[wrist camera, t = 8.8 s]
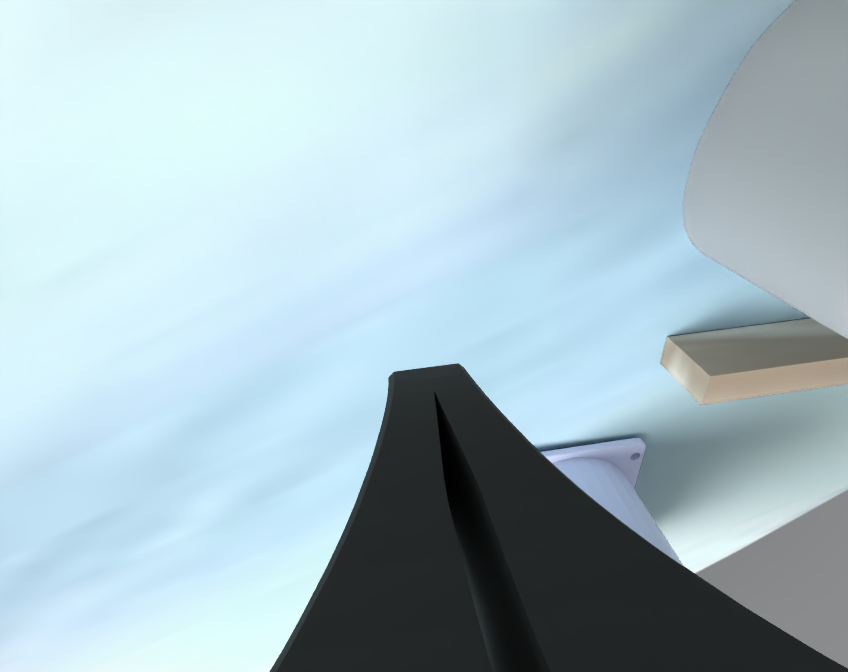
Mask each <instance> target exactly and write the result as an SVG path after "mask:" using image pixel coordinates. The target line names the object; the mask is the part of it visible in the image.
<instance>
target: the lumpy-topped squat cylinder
mask: <svg viewBox="0 0 848 672" xmlns="http://www.w3.org/2000/svg"><path fill="white" fill-rule="evenodd" d="M683 221H684V227H685V230H686V233H687V235H688V238H689V239H690V241H691V243H692V244H693V245H694V247H695V248H696V249H697V250H698V251H699V252H701V253H702V254H704V255H705V256H707V257H709V258H710V259H712V260H714V261H715V262H717V263H719V264H720V265H722V266H724V267H726V268H727V269H729V270H731V271H732V272H734V273H736V274H737V275H739V276H741V277H742V278H744V279H746V280H748V281H749V282H751V283H753V284H754V285H756V286H758V287H759V288H761V289H763V290H764V291H766V292H768V293H770V294H771V295H773V296H775V297H777V298H778V299H780V300H782V301H783V302H785V303H787V304H788V305H790V306H792V307H794V308H795V309H797V310H799V311H800V312H802V313H804V314H805V315H807V316H809V317H810V318H812V319H814V320H816V321H817V322H819V323H821V324H822V325H824V326H826V327H828V328H829V329H831V330H833V331H835V332H836V333H838V334H840V335H842V336H843V337H845V338H847V339H848V0H795V1H794V2H793V3H792V4H791V5H790V6H789V7H788V8H787V9H786V10H785V11H784V12H783V13H782V14H781V15H780V16H779V17H778V18H777V19H776V20H775V21H774V22H773V23H772V24H771V25H770V26H769V27H768V28H767V29H766V30H765V31H764V33H763V34H762V35H761V36H760V37H759V38H758V40H757V41H756V42H755V43H754V45H753V46H752V47H751V49H750V50H749V52H748V53H747V55H746V56H745V58H744V59H743V61H742V63H741V64H740V66H739V67H738V69H737V71H736V72H735V74H734V76H733V77H732V79H731V81H730V83H729V84H728V86H727V88H726V89H725V91H724V93H723V95H722V97H721V98H720V100H719V102H718V104H717V106H716V108H715V109H714V111H713V113H712V115H711V117H710V119H709V121H708V123H707V125H706V127H705V129H704V131H703V133H702V135H701V138H700V140H699V142H698V145H697V147H696V150H695V153H694V156H693V159H692V163H691V166H690V170H689V174H688V178H687V183H686V188H685V194H684V202H683Z"/></svg>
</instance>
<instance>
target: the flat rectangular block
mask: <svg viewBox="0 0 848 672" xmlns="http://www.w3.org/2000/svg"><path fill="white" fill-rule="evenodd" d="M660 364H661V365H662V366H663V367H664V368H665V369H666V370H667V371H668V372H669V373H670V374H671V375H672V376H673V377H674V378H675V379H676V380H677V381H678V382H679V383H680V384H681V385H682V386H683V387H684V388H685V389H686V390H687V391H688V392H689V393H690V394H691V395H692V397H693V398H694V399H695V400H696V401H697V402H698V403H699V404H700V405H704V404H711V403H718V402H725V401H732V400H739V399H746V398H753V397H760V396H767V395H774V394H781V393H787V392H794V391H801V390H808V389H815V388H822V387H829V386H836V385H843V384H848V339H847V338H845V337H843V336H842V335H840V334H838V333H836V332H835V331H833V330H831V329H829V328H828V327H826V326H824V325H822V324H821V323H819V322H817V321H816V320H814V319H812V318H808V319H800V320H792V321H785V322H777V323H769V324H762V325H754V326H746V327H739V328H731V329H723V330H716V331H708V332H700V333H693V334H685V335H677V336H670V337H667V340H666V344H665V348H664V351H663V355H662V359H661V363H660Z"/></svg>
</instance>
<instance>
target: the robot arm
mask: <svg viewBox="0 0 848 672" xmlns="http://www.w3.org/2000/svg"><path fill="white" fill-rule="evenodd" d="M645 448H646V445H645V443H644V442H643V441H642V439H640V438H631V439H624V440H618V441H611V442H604V443H597V444H591V445H584V446H577V447H570V448H564V449H557V450H550V451H543V452H540V451H539V450H538V449H537V448H536V447H535V446H534V445H532V444H531V443H530V442H529V441H528V440H527V439H526V437H525V436H524V435H523V434H522V433H521V432H520V431H519V430H518V429H517V428H516V427H515V426H514V425H513V424H512V423H511V422H510V421H509V420H508V419H507V418H506V417H505V416H504V415H503V414H502V413H501V411H500V410H499V409H498V408H497V407H496V406H495V405H494V404H493V403H492V401H491V400H490V399H489V398H488V397H487V396H486V395H485V393H484V392H483V391H482V390H481V389H480V387H479V386H478V385H477V384H476V383H475V381H474V380H473V379H472V378H471V376H470V375H469V374H468V372H467V371H466V370H465V368H464V367H462V366H461V365H460V364H450V365H443V366H435V367H427V368H420V369H412V370H404V371H397V372H393V373H392V374H391V375H390V377H389V387H388V396H387V403H386V408H385V412H384V417H383V421H382V425H381V429H380V432H379V436H378V439H377V443H376V446H375V449H374V453H373V456H372V459H371V462H370V465H369V468H368V471H367V473H366V476H365V479H364V481H363V484H362V487H361V489H360V492H359V495H358V498H357V500H356V503H355V505H354V508H353V510H352V513H351V515H350V517H349V520H348V522H347V524H346V527H345V529H344V531H343V533H342V536H341V538H340V540H339V542H338V544H337V547H336V549H335V551H334V553H333V555H332V557H331V559H330V562H329V564H328V566H327V568H326V570H325V572H324V574H323V576H322V578H321V579H320V581H319V583H318V585H317V587H316V589H315V591H314V593H313V595H312V597H311V599H310V601H309V603H308V605H307V607H306V608H305V610H304V612H303V614H302V616H301V618H300V620H299V622H298V623H297V625H296V627H295V629H294V631H293V633H292V634H291V636H290V638H289V640H288V642H287V643H286V645H285V647H284V649H283V650H282V652H281V654H280V655H279V657H278V659H277V660H276V662H275V664H274V665H273V667H272V669H271V670H270V672H848V669H847V668H846V667H844V666H842V665H840V664H838V663H837V662H835V661H833V660H831V659H829V658H828V657H826V656H824V655H823V654H821V653H819V652H817V651H816V650H814V649H812V648H811V647H809V646H807V645H806V644H804V643H802V642H801V641H799V640H798V639H796V638H794V637H793V636H791V635H789V634H787V633H786V632H784V631H782V630H781V629H780V628H778V627H776V626H775V625H773V624H771V623H770V622H768V621H766V620H765V619H763V618H762V617H760V616H758V615H757V614H755V613H753V612H752V611H750V610H749V609H747V608H745V607H744V606H742V605H741V604H739V603H738V602H736V601H735V600H733V599H732V598H730V597H729V596H727V595H726V594H724V593H723V592H721V591H720V590H718V589H717V588H715V587H714V586H712V585H711V584H709V583H708V582H706V581H705V580H703V579H702V578H700V577H699V576H698V575H696V574H695V573H693V572H692V571H690V570H689V569H687V568H686V567H684V566H683V564H682V563H681V561H680V560H679V558H678V556H677V555H676V553H675V552H674V550H673V549H672V547H671V546H670V544H669V542H668V541H667V539H666V538H665V536H664V535H663V533H662V532H661V530H660V528H659V527H658V525H657V524H656V522H655V521H654V519H653V517H652V516H651V514H650V513H649V511H648V510H647V508H646V507H645V505H644V503H643V502H642V500H641V499H640V497H639V496H638V494H637V493H636V491H635V489H634V488H635V485H636V481H637V477H638V474H639V470H640V467H641V463H642V459H643V456H644V452H645Z"/></svg>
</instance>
